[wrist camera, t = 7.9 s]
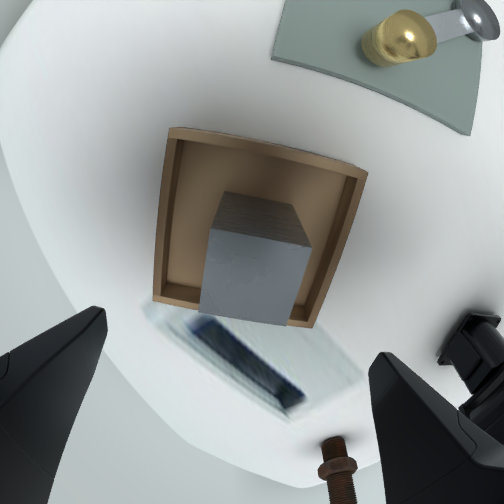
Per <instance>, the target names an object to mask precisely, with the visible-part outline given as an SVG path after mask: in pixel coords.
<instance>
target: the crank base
mask: <svg viewBox="0 0 504 504" xmlns="http://www.w3.org/2000/svg"><path fill="white" fill-rule="evenodd" d="M454 1H455V0H286V2H285V6H284V10H283V14H282V17H281V21H280V25H279V29H278V33H277V37H276V41H275V45H274V49H273V54H272V58H271V59H272V60H276V61H281V62H285V63H289V64H293V65H297V66H301V67H304V68H308V69H312V70H315V71H318V72H322V73H325V74H328V75H331V76H335V77H338V78H341V79H343V80H346V81H349V82H352V83H355V84H357V85H360V86H363V87H365V88H368V89H371V90H373V91H376V92H378V93H380V94H383V95H385V96H388V97H390V98H392V99H394V100H397V101H399V102H401V103H403V104H405V105H407V106H410V107H412V108H414V109H416V110H418V111H420V112H422V113H424V114H426V115H428V116H429V117H431V118H433V119H435V120H437V121H439V122H441V123H442V124H444V125H446V126H448V127H449V128H451V129H453V130H455V131H456V132H458V133H460V134H461V135H466V136H470V134H471V130H472V125H473V120H474V114H475V108H476V102H477V96H478V88H479V80H480V70H481V58H482V42H478V41H475V40H473V39H472V38H470V37H469V36H468V35H467V34H465V35H462V36H458V37H455V38H452V39H449V40H446V41H443V42H440V43H437V48H436V50H435V52H434V53H433V54H432V55H431V56H429V57H426V58H422V59H418V60H414V61H410V62H407V63H403V64H400V65H396V66H393V67H389V68H384V67H380V66H377V65H375V64H374V63H372V62H371V61H370V60H369V59H368V58H367V57H366V55H365V54H364V52H363V50H362V46H361V39H362V36H363V34H364V33H365V32H366V31H368V30H369V29H371V28H372V27H374V26H375V25H377V24H378V23H380V22H381V21H383V20H384V19H386V18H388V17H389V16H391V15H392V14H394V13H396V12H397V11H399V10H404V9H406V10H412V11H414V12H416V13H418V14H420V15H421V16H423V17H427V16H431V15H435V14H439V13H443V12H447V11H452V10H453V2H454Z"/></svg>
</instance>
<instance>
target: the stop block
mask: <svg viewBox="0 0 504 504" xmlns="http://www.w3.org/2000/svg"><path fill="white" fill-rule="evenodd" d="M311 251H312V246H311V243H310V241H309V239H308V237H307V235H306V232H305V230H304V228H303V226H302V224H301V222H300V220H299V217H298V215H297V213H296V211H295V209H294V207H293V205H292V204H287V203H283V202H278V201H273V200H268V199H263V198H259V197H254V196H249V195H243V194H238V193H233V192H228V191H224V193H223V196H222V198H221V201H220V204H219V206H218V209H217V212H216V214H215V217H214V220H213V223H212V225H211V228H210V234H209V241H208V247H207V254H206V260H205V267H204V274H203V281H202V288H201V296H200V303H199V311H198V312H201V313H206V314H212V315H218V316H223V317H229V318H235V319H241V320H247V321H253V322H260V323H267V324H274V325H281V326H286V325H287V322H288V319H289V317H290V314H291V311H292V308H293V305H294V302H295V299H296V297H297V294H298V291H299V288H300V285H301V282H302V279H303V276H304V273H305V270H306V267H307V264H308V261H309V257H310V254H311Z"/></svg>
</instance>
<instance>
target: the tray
mask: <svg viewBox="0 0 504 504" xmlns="http://www.w3.org/2000/svg"><path fill="white" fill-rule="evenodd" d="M367 176H368V172H367V171H365V170H363V169H361V168H359V167H357V166H355V165H352V164H349V163H346V162H342V161H339V160H336V159H332V158H329V157H325V156H321V155H318V154H314V153H310V152H307V151H303V150H299V149H295V148H291V147H287V146H282V145H278V144H274V143H269V142H265V141H260V140H255V139H250V138H245V137H240V136H235V135H230V134H224V133H218V132H212V131H206V130H199V129H193V128H185V127H174V128H169V133H168V139H167V146H166V152H165V159H164V166H163V173H162V181H161V189H160V198H159V208H158V218H157V229H156V242H155V257H154V277H153V301H155V302H160V303H165V304H169V305H174V306H179V307H184V308H189V309H194V310H199V303H200V296H201V288H202V281H203V274H204V267H205V260H206V254H207V247H208V241H209V234H210V228H211V225H212V223H213V220H214V217H215V214H216V212H217V209H218V206H219V204H220V201H221V198H222V196H223V193H224V191H228V192H233V193H238V194H243V195H249V196H254V197H259V198H263V199H268V200H273V201H278V202H283V203H287V204H292V205H293V207H294V209H295V211H296V213H297V215H298V217H299V220H300V222H301V224H302V226H303V228H304V230H305V232H306V235H307V237H308V239H309V241H310V243H311V246H312V251H311V254H310V257H309V261H308V264H307V267H306V270H305V273H304V276H303V279H302V282H301V285H300V288H299V291H298V294H297V297H296V299H295V302H294V305H293V308H292V311H291V314H290V317H289V319H288V322H287V325H289V326H296V327H304V328H313V326H314V323H315V321H316V318H317V316H318V314H319V311H320V309H321V306H322V304H323V302H324V299H325V297H326V294H327V292H328V289H329V287H330V284H331V281H332V279H333V276H334V274H335V271H336V268H337V266H338V263H339V260H340V258H341V255H342V252H343V249H344V247H345V244H346V241H347V238H348V235H349V232H350V229H351V226H352V223H353V220H354V217H355V214H356V211H357V208H358V205H359V202H360V199H361V196H362V192H363V189H364V186H365V182H366V179H367Z"/></svg>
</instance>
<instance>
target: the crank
mask: <svg viewBox="0 0 504 504" xmlns="http://www.w3.org/2000/svg"><path fill="white" fill-rule="evenodd" d="M465 34H467V35H468V36H469V37H470V38H472V39H473V40H475V41H478V42H483V41H489V40H496V39H497V38H498V37H499V35H500V26H499V22H498V20H497V17H496V15H495V13H494V12H493V10H492V9H491V7H490V6H489V5H488V4H487V3H486V2H485V1H484V0H455V1H454V2H453V10H452V11H447V12H443V13H439V14H435V15H431V16H427V17H423V16H421V15H420V14H418V13H416V12H414V11H412V10H406V9H404V10H399V11H397V12H396V13H394V14H392V15H391V16H389V17H388V18H386V19H384V20H383V21H381V22H380V23H378V24H377V25H375V26H374V27H372V28H371V29H369V30H368V31H366V32H365V33H364V34H363V36H362V39H361V46H362V50H363V52H364V54H365V55H366V57H367V58H368V59H369V60H370V61H371V62H372V63H374V64H375V65H377V66H380V67H384V68H389V67H393V66H396V65H400V64H403V63H407V62H410V61H414V60H418V59H422V58H426V57H429V56H431V55H432V54H433V53H434V52H435V50H436V48H437V43H440V42H443V41H446V40H449V39H452V38H455V37H458V36H462V35H465Z"/></svg>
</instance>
